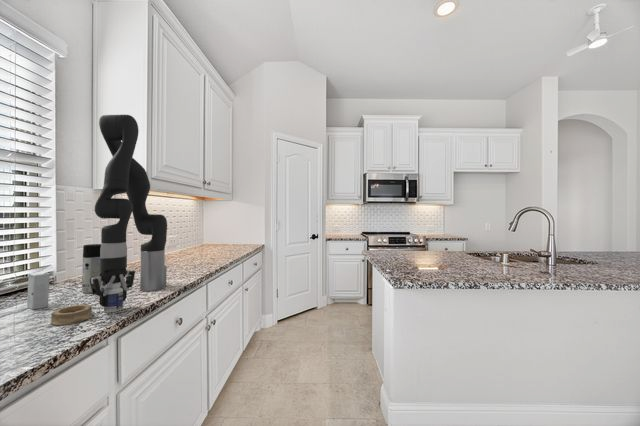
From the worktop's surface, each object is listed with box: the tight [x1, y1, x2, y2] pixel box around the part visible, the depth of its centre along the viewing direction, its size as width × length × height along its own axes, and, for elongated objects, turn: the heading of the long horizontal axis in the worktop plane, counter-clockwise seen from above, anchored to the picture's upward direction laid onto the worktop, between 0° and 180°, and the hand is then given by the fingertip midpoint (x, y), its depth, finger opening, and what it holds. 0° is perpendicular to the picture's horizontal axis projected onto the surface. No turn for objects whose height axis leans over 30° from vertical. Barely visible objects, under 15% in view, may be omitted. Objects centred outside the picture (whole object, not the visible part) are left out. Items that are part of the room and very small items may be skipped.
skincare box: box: [26, 270, 51, 310], centre depth 99 cm, size 6×4×12 cm
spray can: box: [81, 243, 103, 294], centre depth 118 cm, size 7×7×20 cm
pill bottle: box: [103, 282, 124, 314], centre depth 96 cm, size 5×5×10 cm
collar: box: [50, 303, 93, 326], centre depth 89 cm, size 10×10×3 cm
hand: (113, 303), depth 96 cm, fingers closed on pill bottle, 5 cm apart
